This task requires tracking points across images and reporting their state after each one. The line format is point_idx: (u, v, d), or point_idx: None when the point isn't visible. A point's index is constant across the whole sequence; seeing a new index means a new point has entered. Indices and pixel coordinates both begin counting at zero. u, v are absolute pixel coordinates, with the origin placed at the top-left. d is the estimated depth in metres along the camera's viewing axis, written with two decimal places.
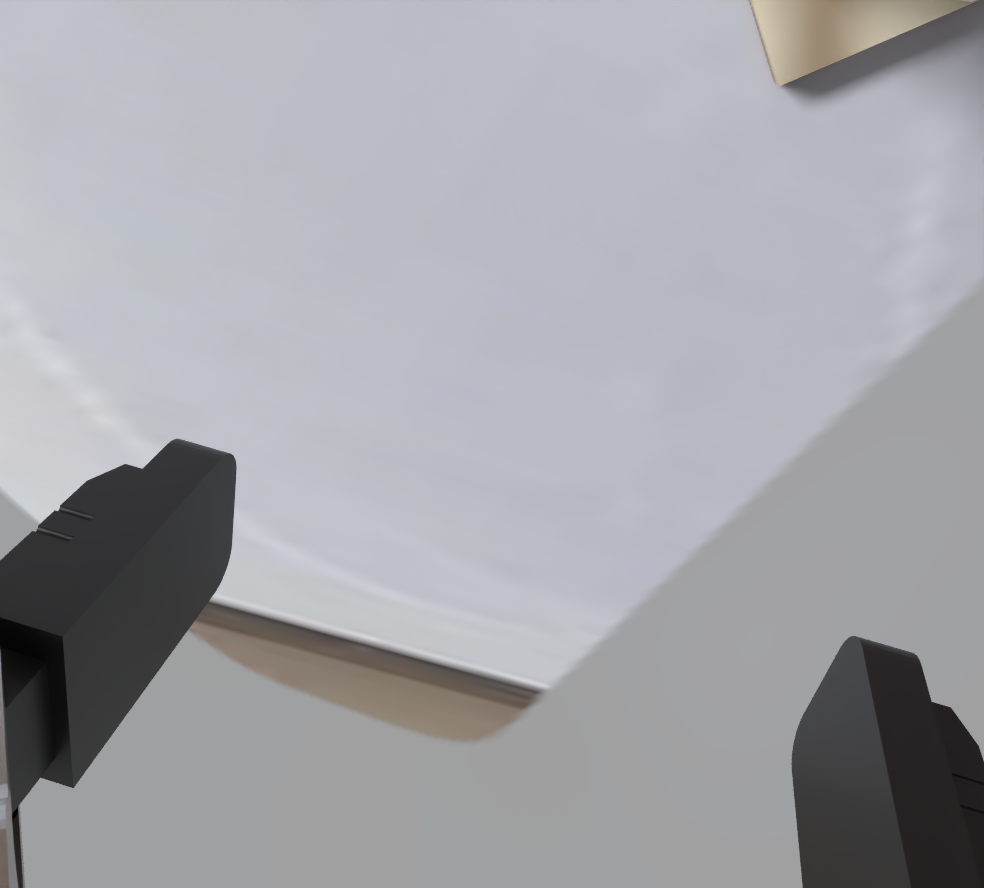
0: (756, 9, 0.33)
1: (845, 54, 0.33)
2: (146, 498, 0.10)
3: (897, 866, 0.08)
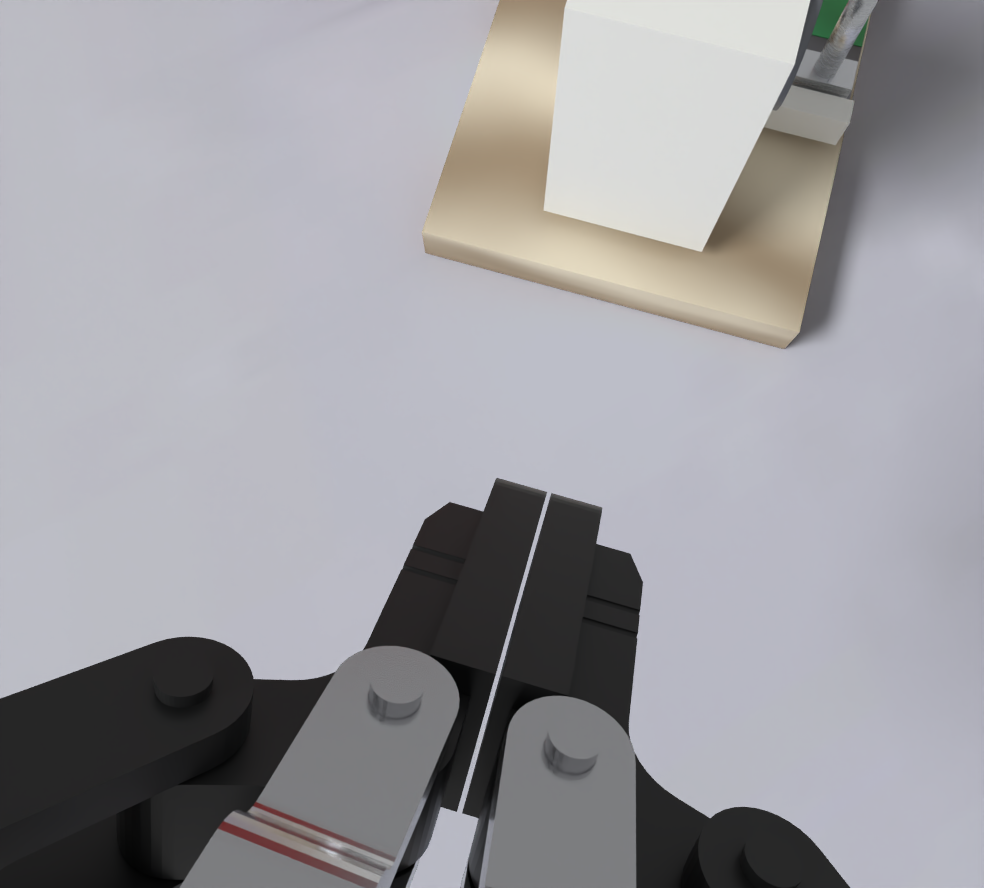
0: (710, 308, 0.28)
1: (811, 261, 0.29)
2: (501, 537, 0.11)
3: (507, 655, 0.10)
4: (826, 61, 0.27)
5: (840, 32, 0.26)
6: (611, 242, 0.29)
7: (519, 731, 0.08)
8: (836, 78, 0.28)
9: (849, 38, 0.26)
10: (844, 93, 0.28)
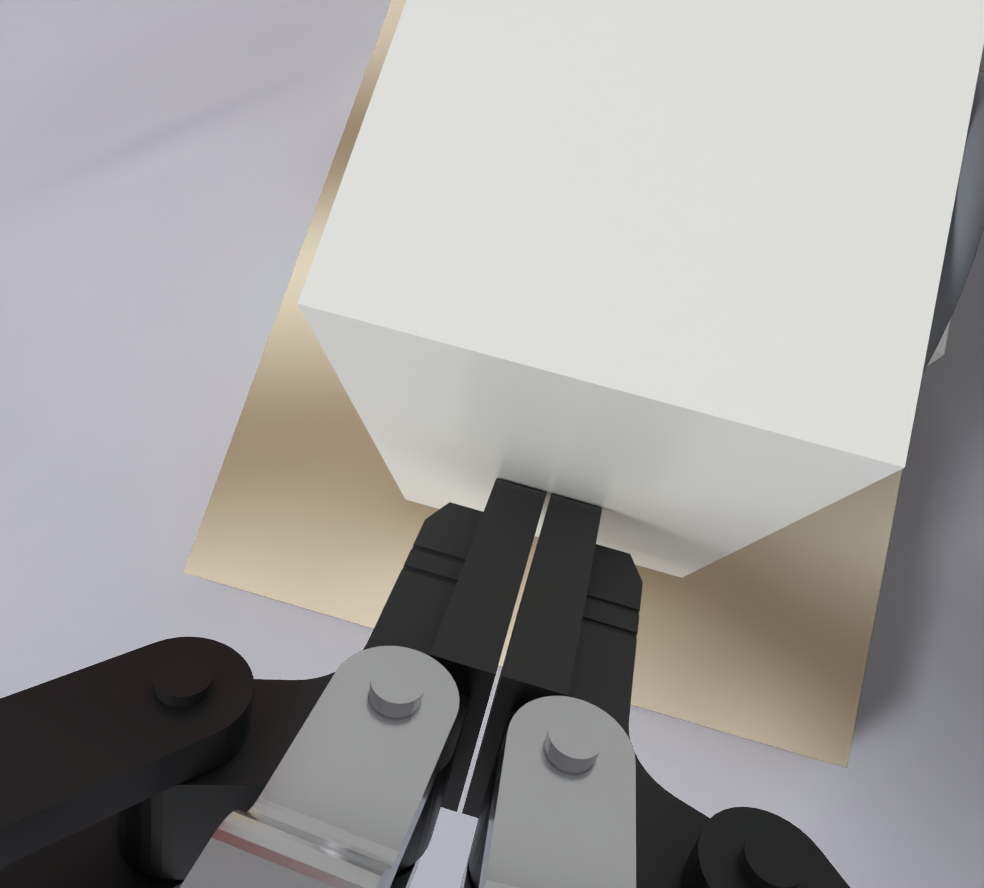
0: (687, 719, 0.16)
1: (866, 627, 0.16)
2: (501, 537, 0.11)
3: (507, 654, 0.10)
4: None
5: None
6: None
7: (518, 731, 0.08)
8: None
9: None
10: None
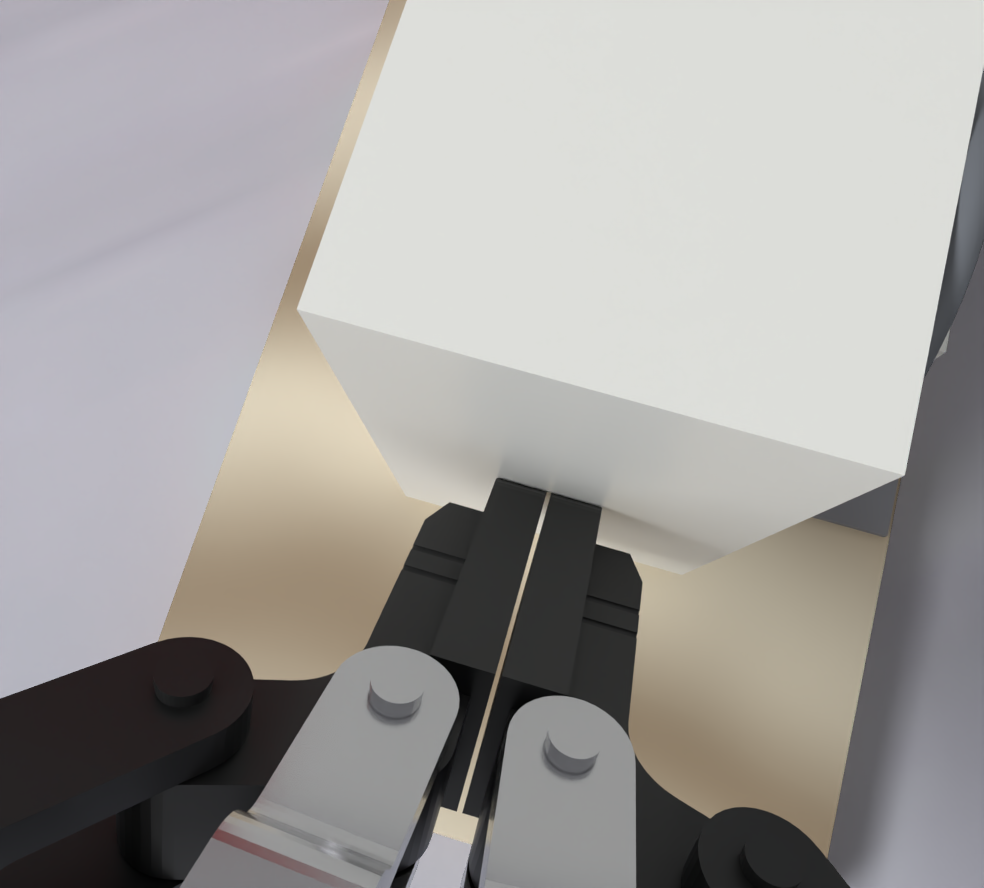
0: None
1: (831, 797, 0.16)
2: (501, 537, 0.11)
3: (506, 655, 0.10)
4: None
5: None
6: None
7: (519, 731, 0.08)
8: None
9: None
10: None
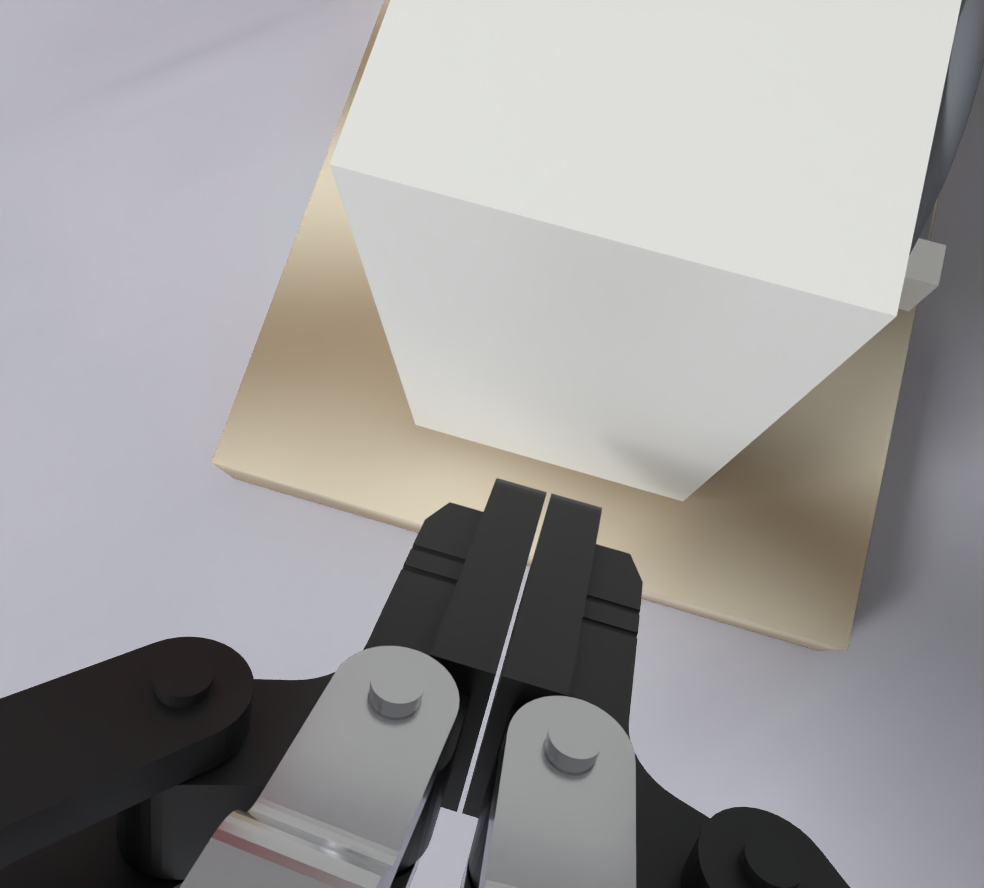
0: (695, 603, 0.17)
1: (867, 518, 0.17)
2: (501, 538, 0.11)
3: (507, 655, 0.10)
4: None
5: None
6: (529, 483, 0.17)
7: (519, 731, 0.08)
8: None
9: None
10: None
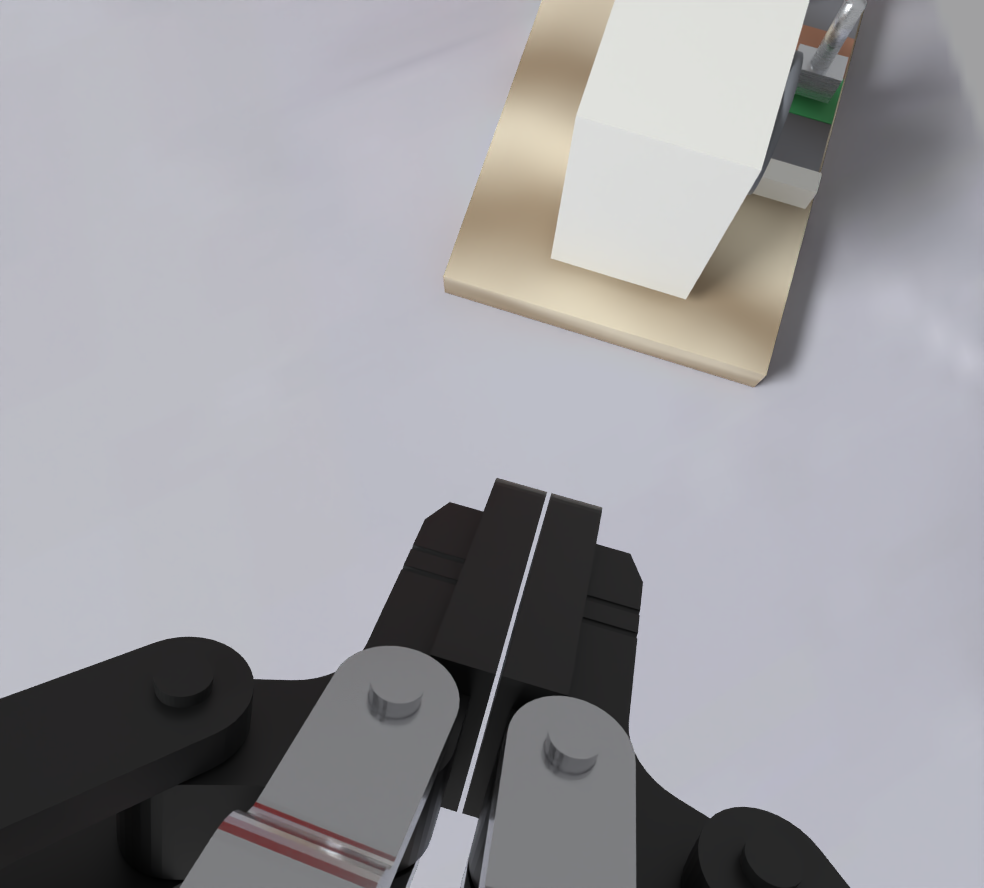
0: (690, 351, 0.33)
1: (779, 313, 0.33)
2: (501, 537, 0.11)
3: (507, 654, 0.10)
4: (821, 56, 0.32)
5: (833, 33, 0.31)
6: (607, 291, 0.33)
7: (519, 731, 0.08)
8: (829, 70, 0.33)
9: (841, 37, 0.31)
10: (835, 83, 0.33)
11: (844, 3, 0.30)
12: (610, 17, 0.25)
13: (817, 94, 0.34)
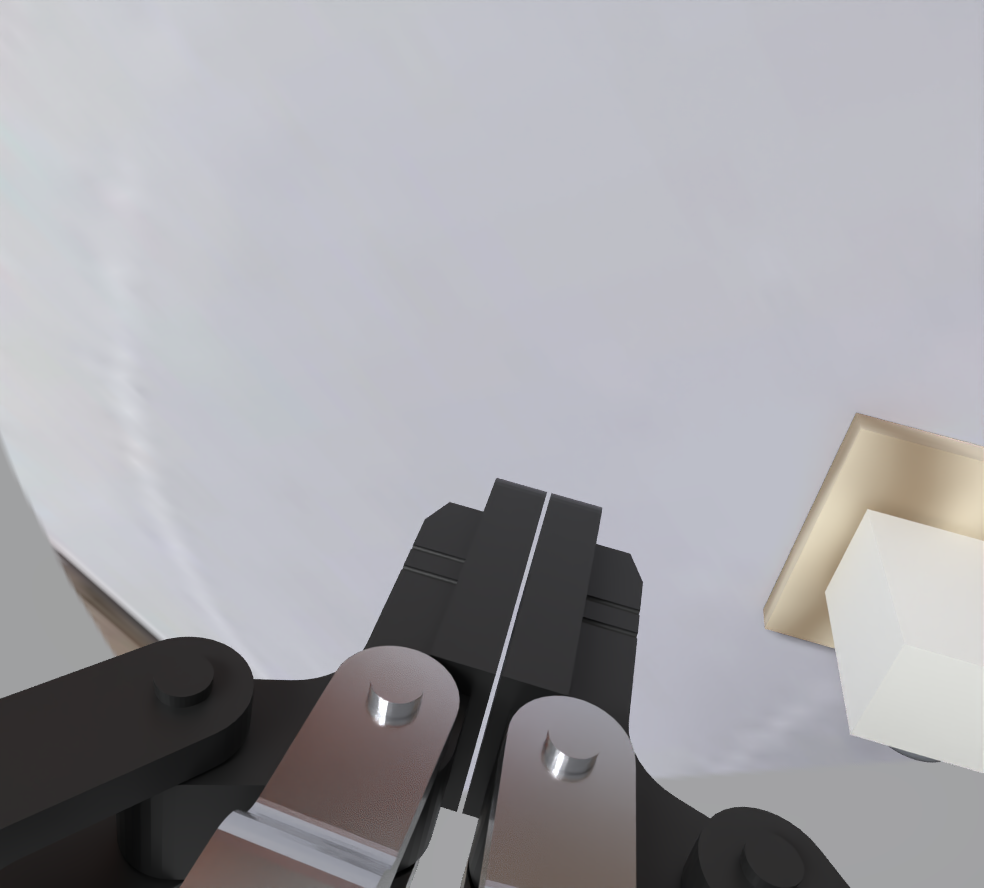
0: (785, 587, 0.45)
1: (812, 640, 0.46)
2: (501, 537, 0.11)
3: (507, 655, 0.10)
4: None
5: None
6: (838, 539, 0.43)
7: (519, 732, 0.08)
8: None
9: None
10: None
11: None
12: None
13: None
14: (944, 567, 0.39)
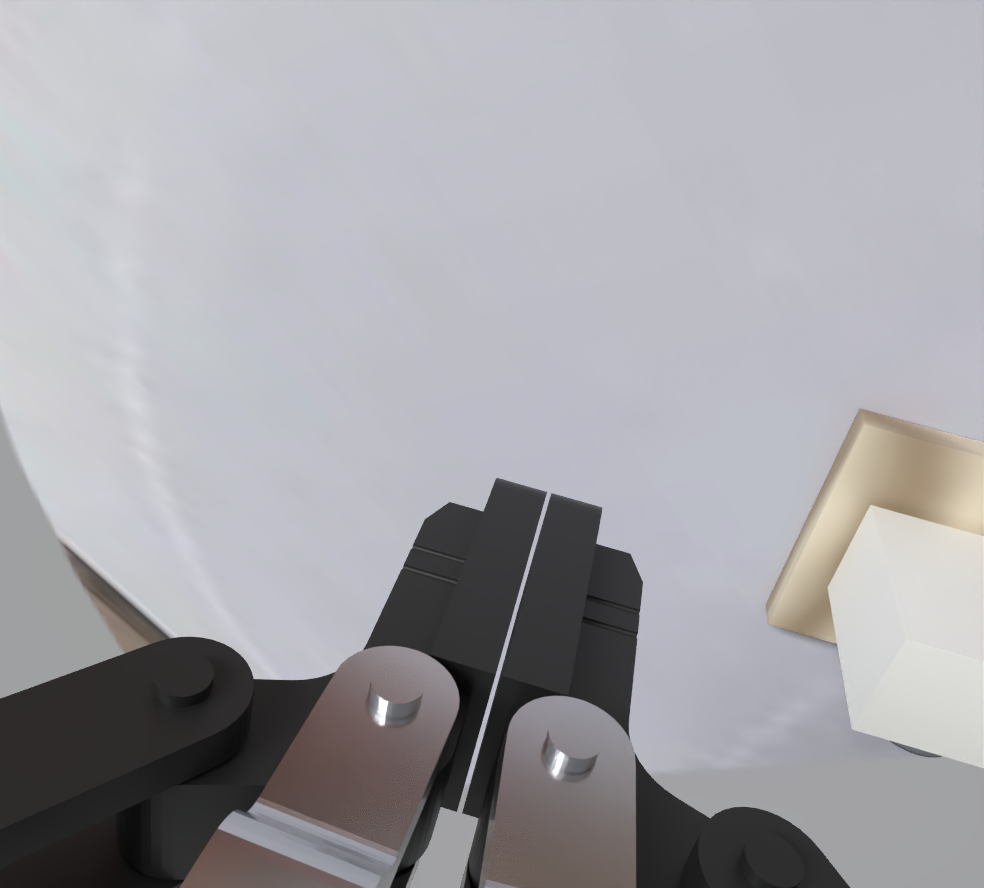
0: (788, 582, 0.45)
1: (815, 635, 0.46)
2: (501, 537, 0.11)
3: (507, 655, 0.10)
4: None
5: None
6: (841, 535, 0.43)
7: (518, 731, 0.08)
8: None
9: None
10: None
11: None
12: None
13: None
14: (947, 563, 0.39)
